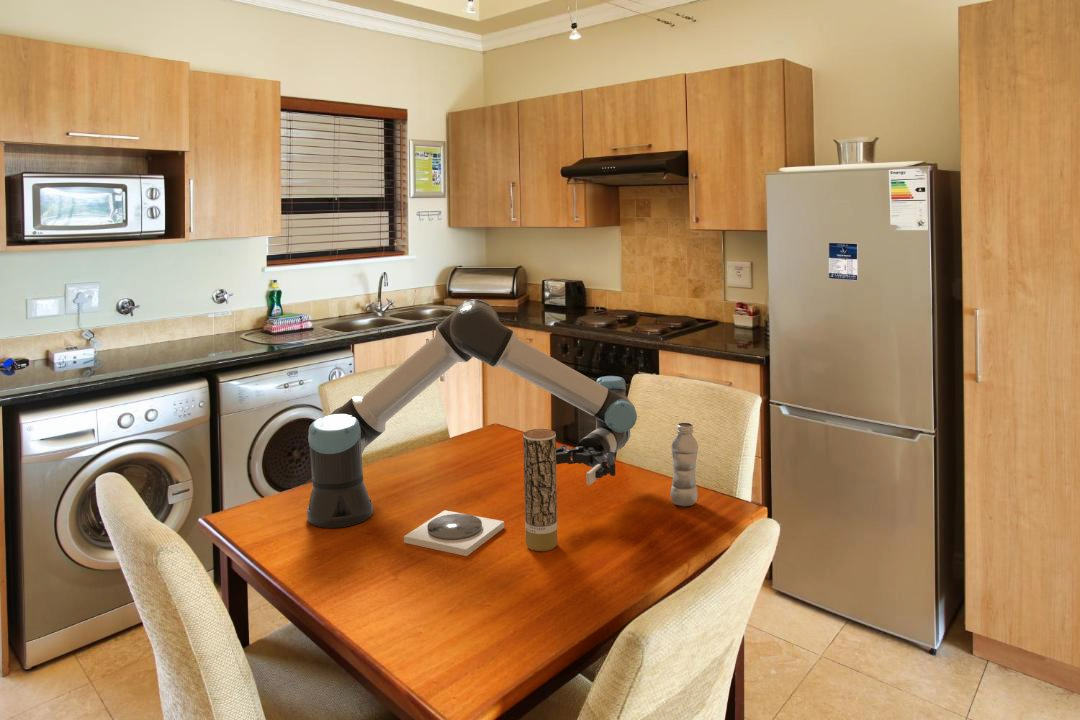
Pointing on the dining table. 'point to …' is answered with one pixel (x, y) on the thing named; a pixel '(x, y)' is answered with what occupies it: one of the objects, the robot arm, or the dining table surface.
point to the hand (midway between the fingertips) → (559, 474)
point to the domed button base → (454, 532)
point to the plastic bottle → (684, 466)
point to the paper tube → (540, 489)
